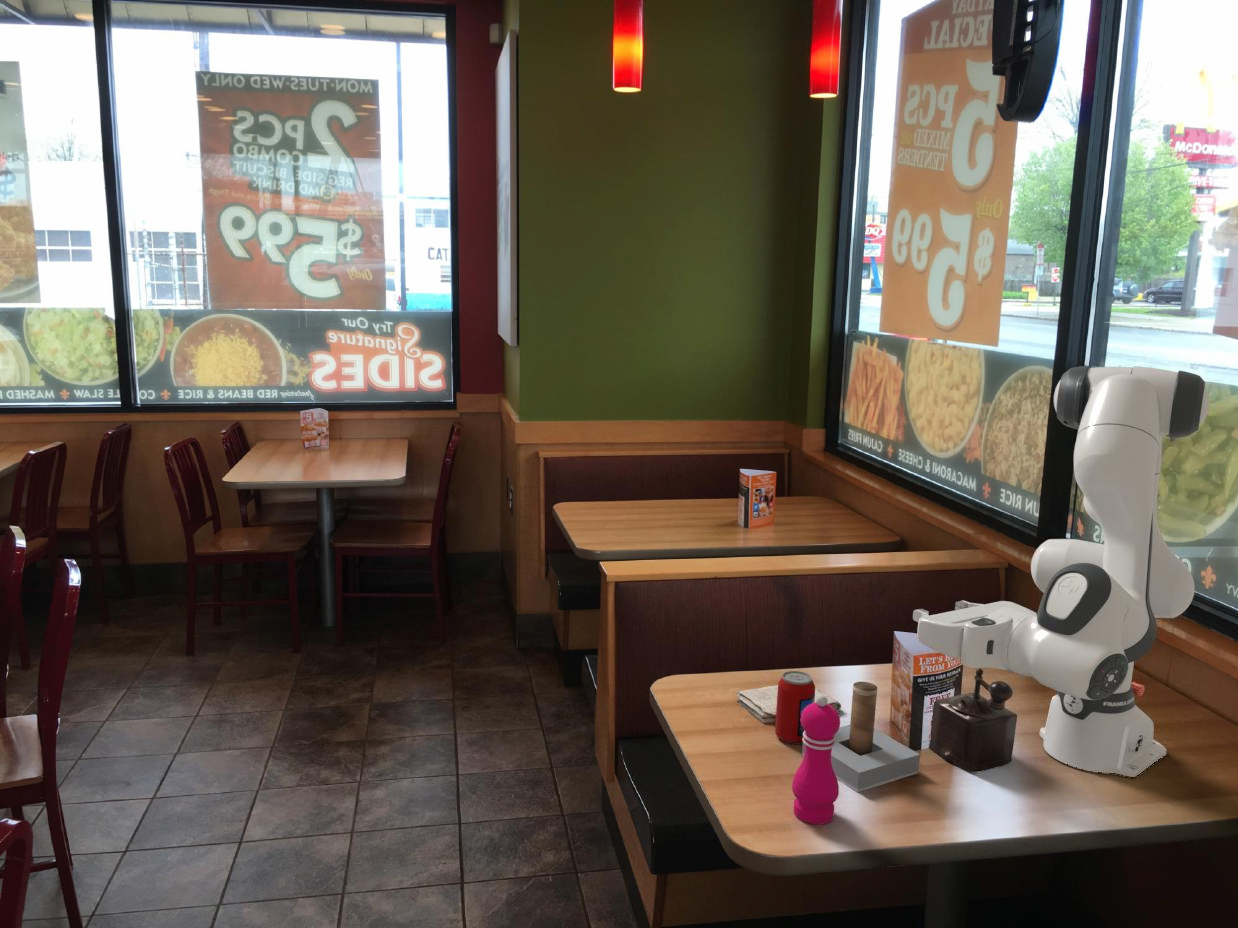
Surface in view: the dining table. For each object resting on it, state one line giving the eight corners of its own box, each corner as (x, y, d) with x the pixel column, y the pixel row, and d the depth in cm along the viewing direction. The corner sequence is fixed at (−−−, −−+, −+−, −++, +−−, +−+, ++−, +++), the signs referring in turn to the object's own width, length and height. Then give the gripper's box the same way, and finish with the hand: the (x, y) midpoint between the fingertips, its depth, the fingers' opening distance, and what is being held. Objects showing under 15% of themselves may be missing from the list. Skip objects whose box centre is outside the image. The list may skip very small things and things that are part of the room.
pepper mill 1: (842, 826, 148) (852, 705, 144) (797, 826, 147) (805, 705, 143) (829, 801, 155) (837, 685, 151) (785, 801, 154) (793, 685, 150)
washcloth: (732, 703, 191) (732, 688, 191) (806, 689, 199) (807, 675, 198) (764, 728, 181) (765, 713, 180) (841, 713, 188) (842, 698, 188)
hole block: (860, 738, 177) (861, 721, 176) (918, 773, 165) (919, 754, 164) (801, 755, 170) (803, 736, 169) (857, 792, 158) (859, 772, 157)
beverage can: (811, 748, 172) (816, 686, 170) (773, 743, 174) (777, 681, 171) (811, 731, 179) (816, 671, 177) (775, 727, 180) (779, 667, 178)
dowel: (859, 753, 170) (865, 679, 167) (876, 763, 166) (882, 688, 164) (842, 758, 168) (848, 684, 165) (858, 769, 164) (864, 692, 162)
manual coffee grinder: (923, 748, 174) (932, 654, 170) (968, 737, 178) (978, 646, 175) (990, 789, 160) (1001, 688, 157) (1037, 776, 165) (1048, 678, 161)
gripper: (1058, 607, 145) (984, 582, 156) (965, 628, 135) (893, 599, 146) (1054, 647, 146) (980, 618, 157) (961, 670, 136) (889, 638, 147)
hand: (937, 609), depth 152 cm, fingers open, 8 cm apart
